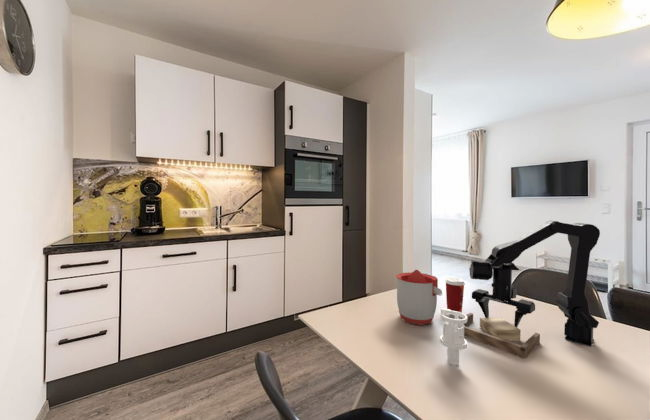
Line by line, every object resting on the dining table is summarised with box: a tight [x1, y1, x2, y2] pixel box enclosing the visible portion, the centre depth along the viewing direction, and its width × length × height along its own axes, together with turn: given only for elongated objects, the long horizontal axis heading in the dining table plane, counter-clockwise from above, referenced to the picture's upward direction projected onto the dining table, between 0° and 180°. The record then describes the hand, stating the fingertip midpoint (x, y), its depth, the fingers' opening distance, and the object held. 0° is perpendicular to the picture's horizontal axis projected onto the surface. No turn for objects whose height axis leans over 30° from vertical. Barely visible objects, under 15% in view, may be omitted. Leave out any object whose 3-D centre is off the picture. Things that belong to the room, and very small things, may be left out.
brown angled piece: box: [459, 312, 541, 360], centre depth 95 cm, size 22×15×3 cm
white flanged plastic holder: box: [439, 307, 468, 366], centre depth 79 cm, size 7×7×15 cm
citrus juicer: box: [396, 269, 443, 326], centre depth 108 cm, size 16×17×20 cm
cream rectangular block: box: [479, 317, 522, 341], centre depth 98 cm, size 10×8×4 cm
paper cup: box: [444, 277, 466, 313], centre depth 116 cm, size 8×8×14 cm
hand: (501, 323), depth 100 cm, fingers open, 9 cm apart
